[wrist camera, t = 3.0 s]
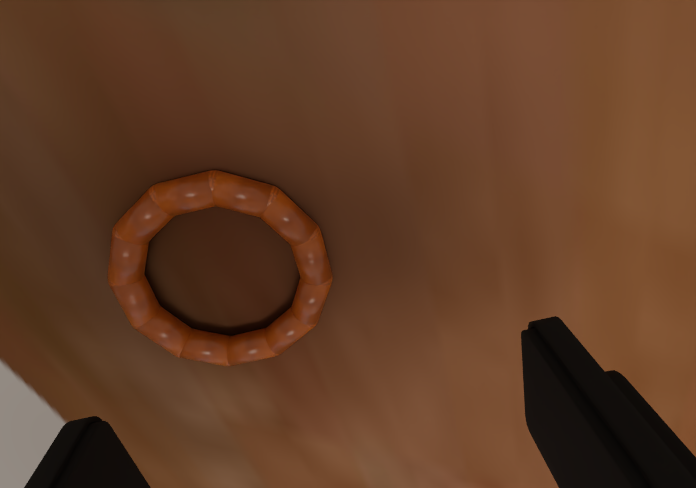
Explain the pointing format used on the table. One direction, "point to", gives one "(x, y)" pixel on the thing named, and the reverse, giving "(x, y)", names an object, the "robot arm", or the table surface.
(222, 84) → the table surface
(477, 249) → the table surface
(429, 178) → the table surface
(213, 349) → the orange ring
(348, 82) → the table surface
